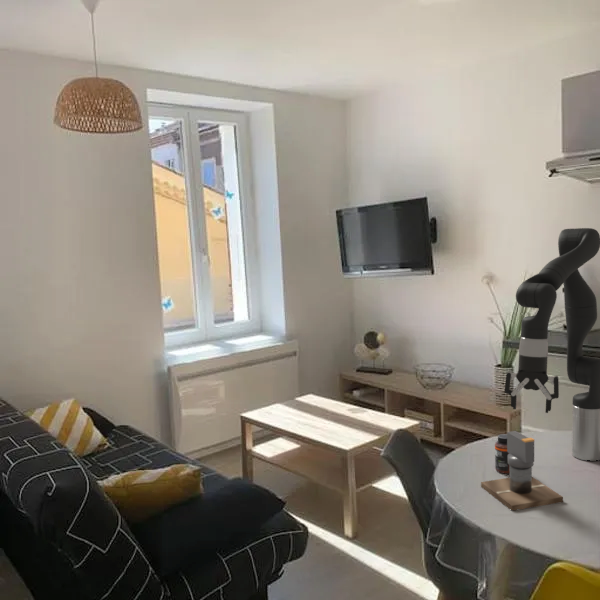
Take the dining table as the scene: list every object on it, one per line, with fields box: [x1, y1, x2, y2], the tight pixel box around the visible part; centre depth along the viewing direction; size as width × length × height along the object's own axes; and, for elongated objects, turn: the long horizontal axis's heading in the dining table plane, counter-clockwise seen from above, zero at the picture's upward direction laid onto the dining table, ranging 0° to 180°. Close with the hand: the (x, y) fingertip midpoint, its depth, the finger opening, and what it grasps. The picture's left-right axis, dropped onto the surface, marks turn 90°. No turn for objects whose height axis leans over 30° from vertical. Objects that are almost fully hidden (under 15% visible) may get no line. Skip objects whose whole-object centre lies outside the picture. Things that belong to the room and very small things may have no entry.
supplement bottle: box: [494, 433, 510, 474], centre depth 190 cm, size 6×6×11 cm
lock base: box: [480, 465, 564, 511], centre depth 173 cm, size 16×16×9 cm
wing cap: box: [506, 430, 535, 468], centre depth 172 cm, size 9×7×8 cm
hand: (530, 410), depth 170 cm, fingers open, 8 cm apart
